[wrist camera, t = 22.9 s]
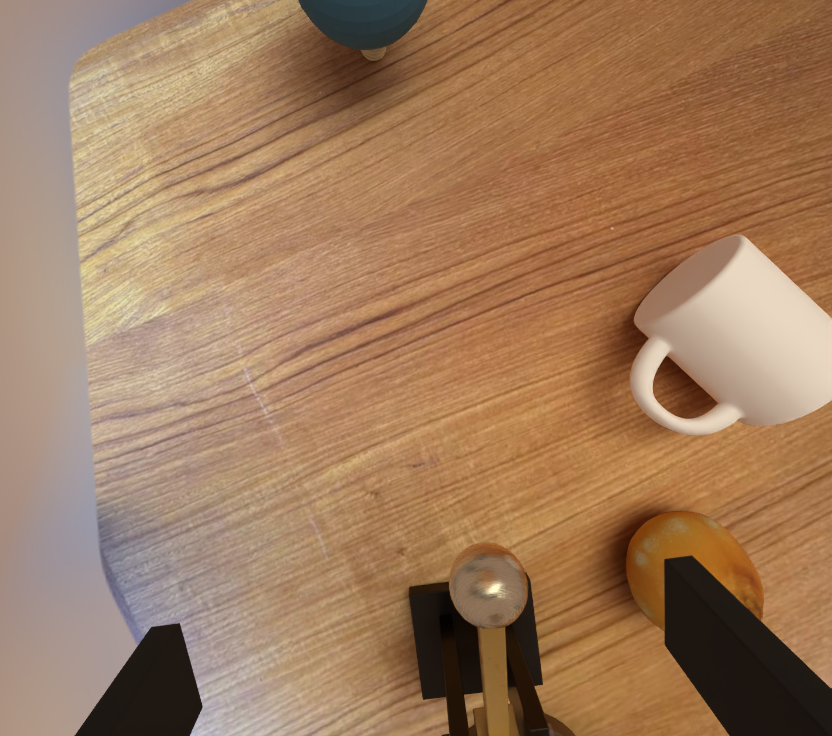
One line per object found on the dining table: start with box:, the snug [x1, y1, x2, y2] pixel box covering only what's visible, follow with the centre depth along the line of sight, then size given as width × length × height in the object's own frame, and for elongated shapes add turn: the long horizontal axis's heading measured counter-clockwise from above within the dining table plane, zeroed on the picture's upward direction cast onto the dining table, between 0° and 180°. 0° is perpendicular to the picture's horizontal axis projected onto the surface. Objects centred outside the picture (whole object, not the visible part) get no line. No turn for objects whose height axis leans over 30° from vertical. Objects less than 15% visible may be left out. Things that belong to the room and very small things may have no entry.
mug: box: [630, 235, 832, 435], centre depth 29 cm, size 12×10×8 cm
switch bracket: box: [409, 572, 555, 736], centre depth 28 cm, size 8×9×12 cm
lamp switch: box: [449, 543, 528, 736], centre depth 21 cm, size 16×3×3 cm, turn 7°
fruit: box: [626, 511, 764, 631], centre depth 31 cm, size 8×8×8 cm
